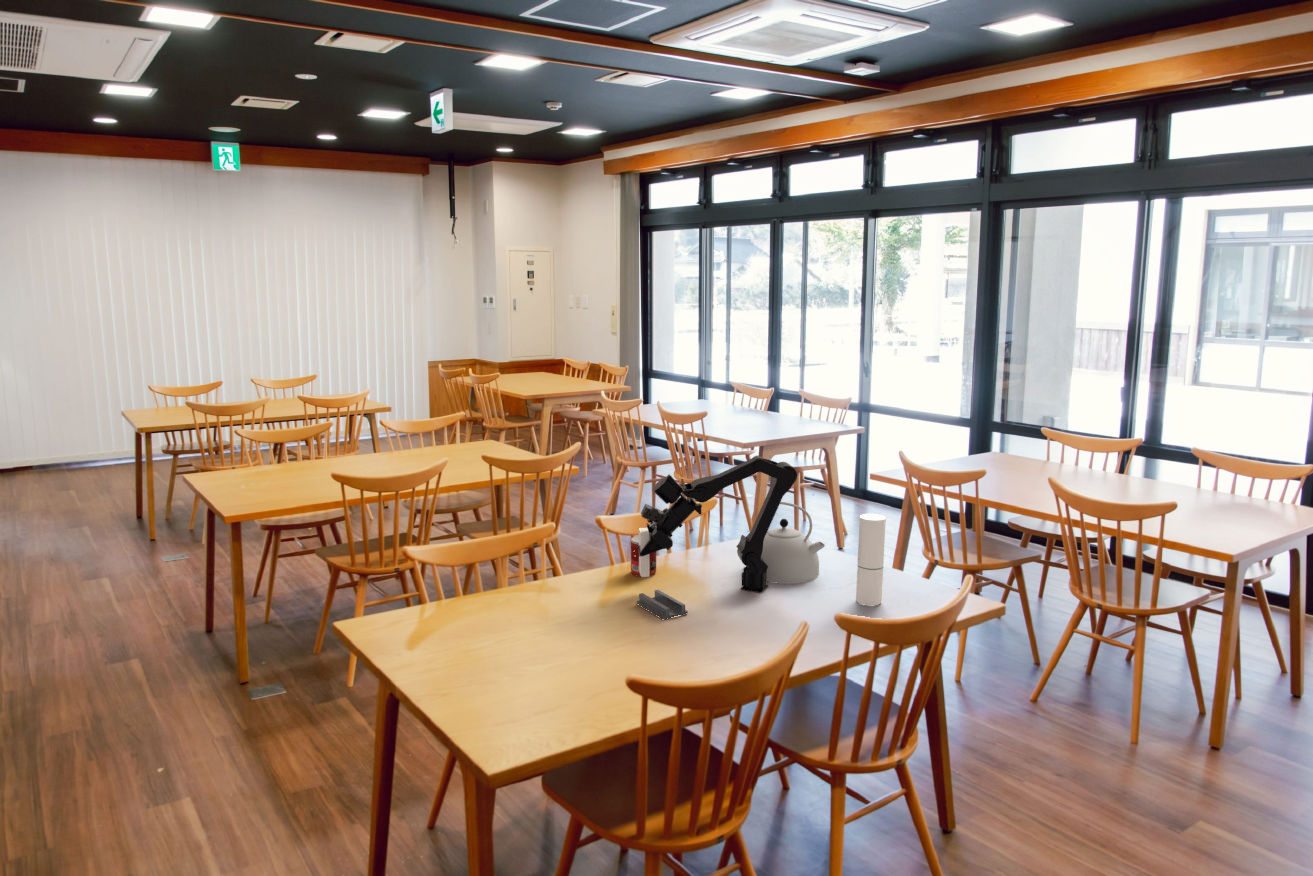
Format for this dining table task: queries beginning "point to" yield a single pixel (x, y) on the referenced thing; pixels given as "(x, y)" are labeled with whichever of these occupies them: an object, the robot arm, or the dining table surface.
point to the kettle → (790, 553)
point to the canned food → (636, 559)
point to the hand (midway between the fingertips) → (639, 552)
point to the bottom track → (662, 605)
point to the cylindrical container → (870, 559)
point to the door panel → (645, 559)
